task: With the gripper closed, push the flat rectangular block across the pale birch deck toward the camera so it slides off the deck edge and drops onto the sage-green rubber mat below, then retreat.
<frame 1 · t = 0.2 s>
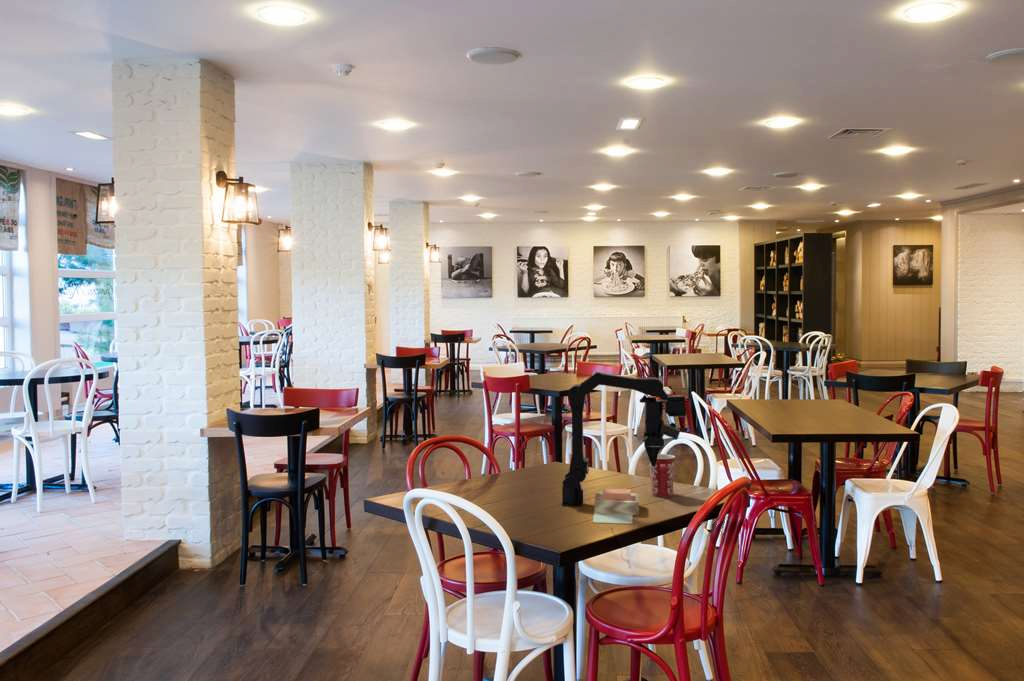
hand: (653, 463, 276), 14 cm above the table, fingers open, 9 cm apart
mug: (662, 496, 290), on the table
deck: (617, 509, 272), on the table
flat rectangular block: (616, 497, 272), point 4 cm above the table, touching deck
mat: (612, 518, 261), on the table
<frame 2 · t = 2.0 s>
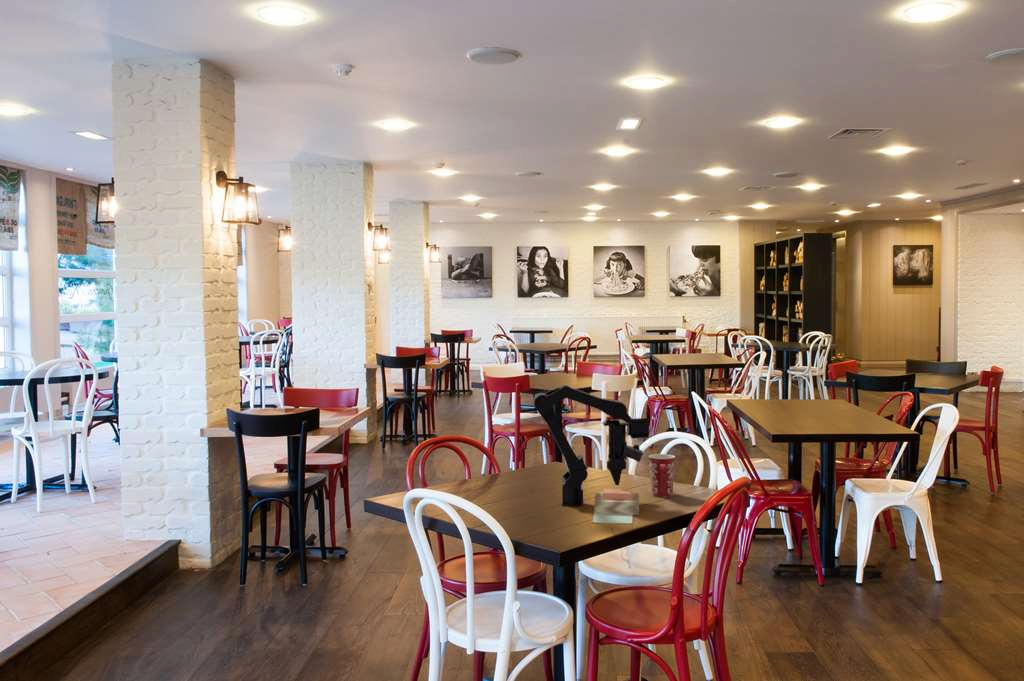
hand: (617, 485, 281), 6 cm above the table, fingers closed
nothing on the table moved.
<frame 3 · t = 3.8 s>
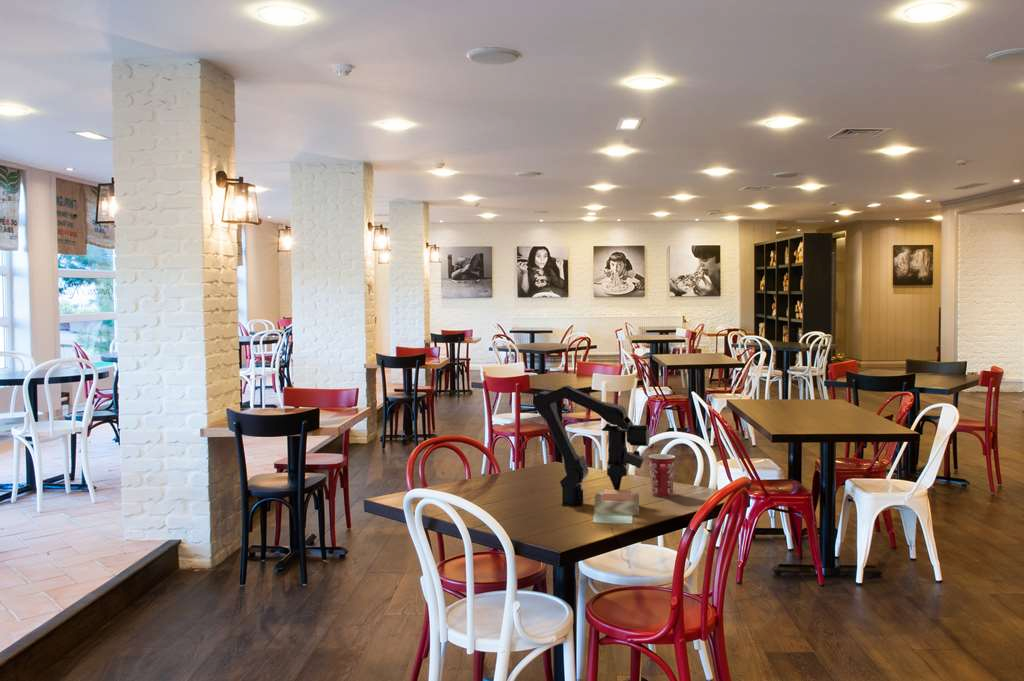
hand: (617, 491, 275), 5 cm above the table, fingers closed
flat rectangular block: (617, 497, 271), point 4 cm above the table, touching deck, gripper
everything else where it was.
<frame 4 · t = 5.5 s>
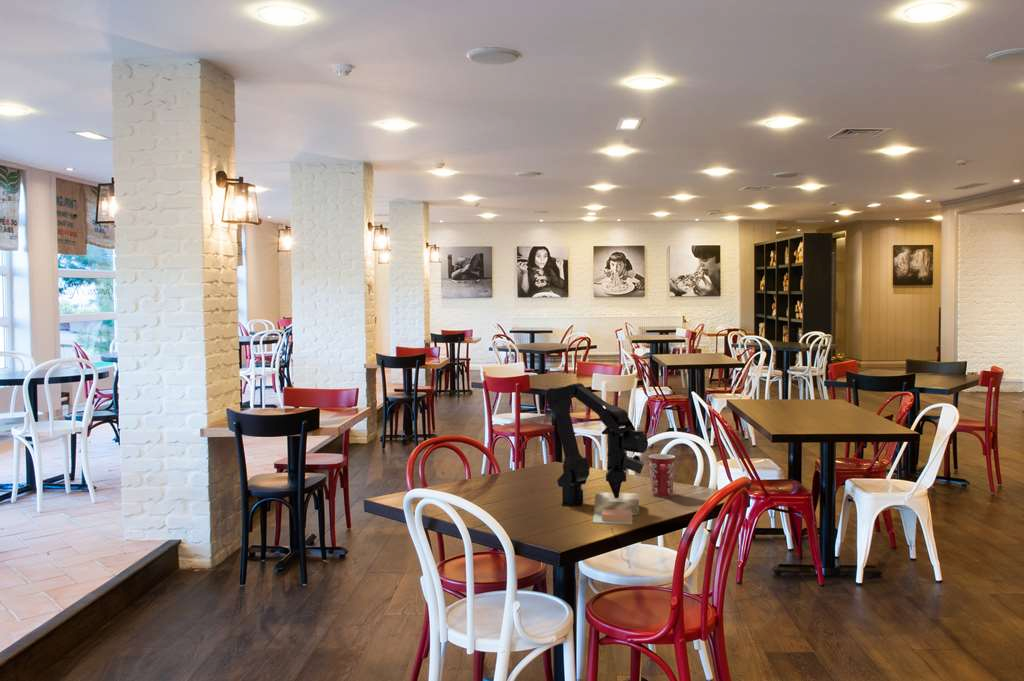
hand: (616, 498, 267), 5 cm above the table, fingers closed
flat rectangular block: (616, 512, 260), point 2 cm above the table, tilted 180°, touching mat
everything else where it was.
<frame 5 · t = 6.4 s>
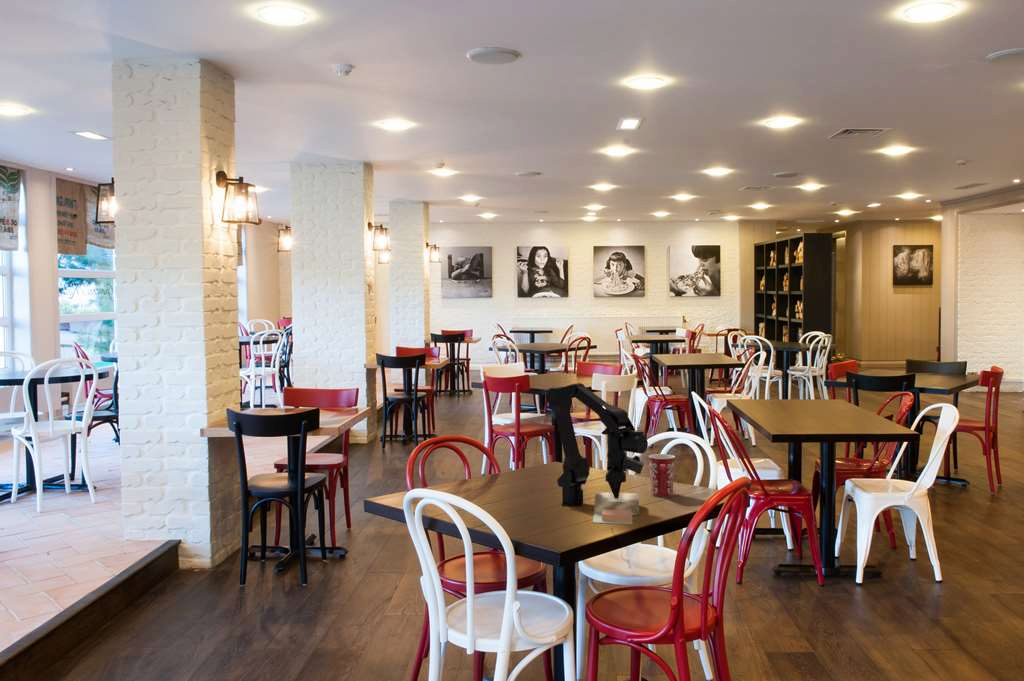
hand: (616, 498, 266), 5 cm above the table, fingers closed
nothing on the table moved.
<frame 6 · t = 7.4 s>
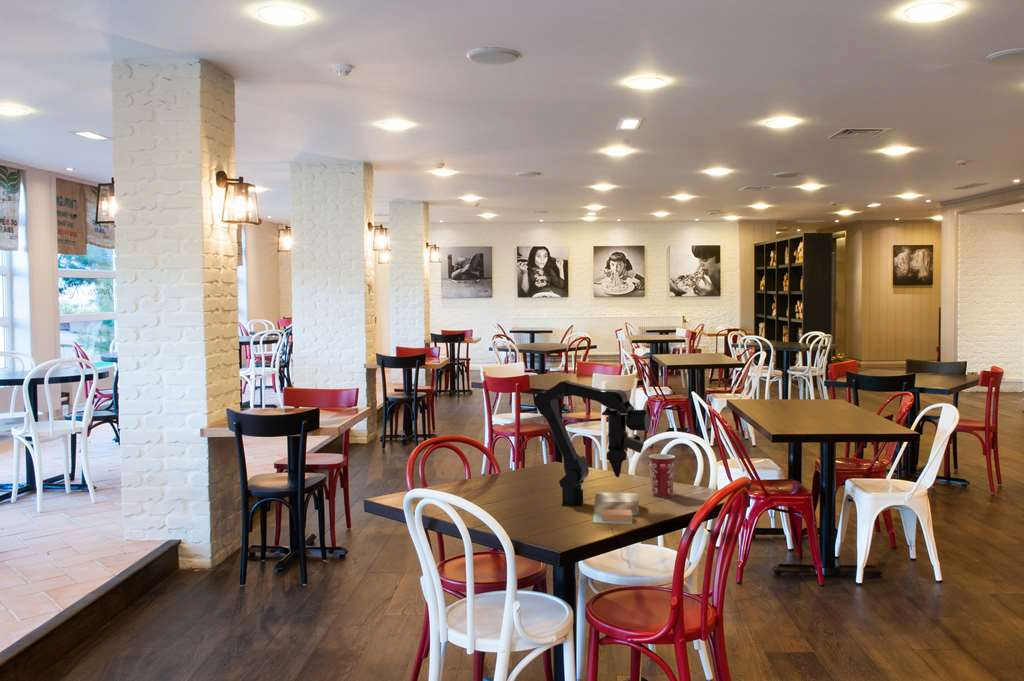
hand: (617, 477, 273), 10 cm above the table, fingers closed
nothing on the table moved.
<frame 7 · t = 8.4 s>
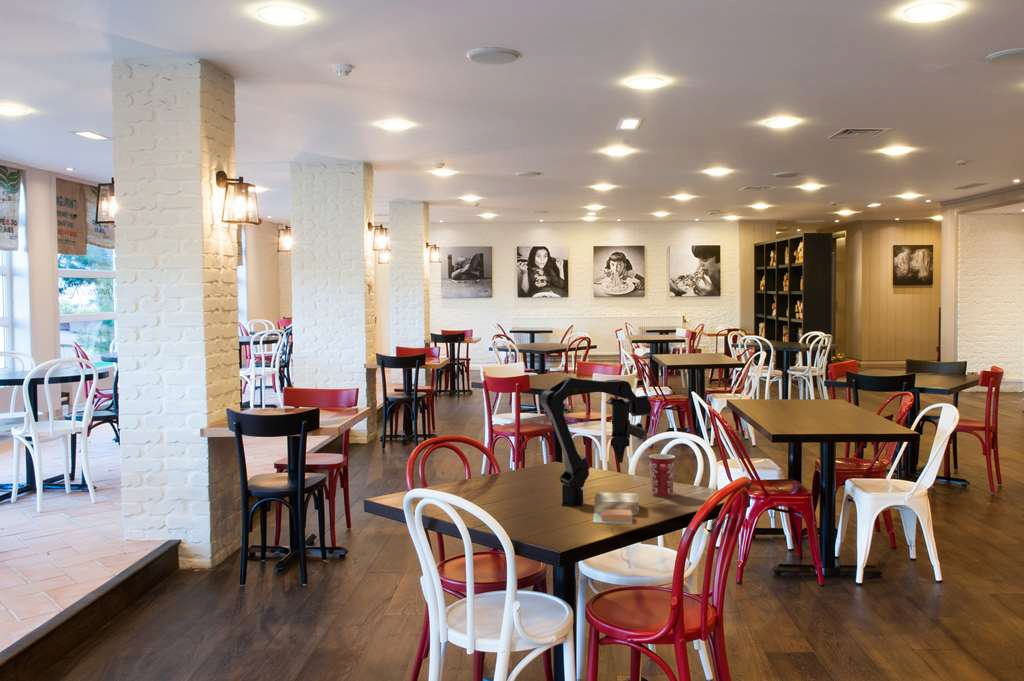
hand: (620, 462, 285), 13 cm above the table, fingers closed
nothing on the table moved.
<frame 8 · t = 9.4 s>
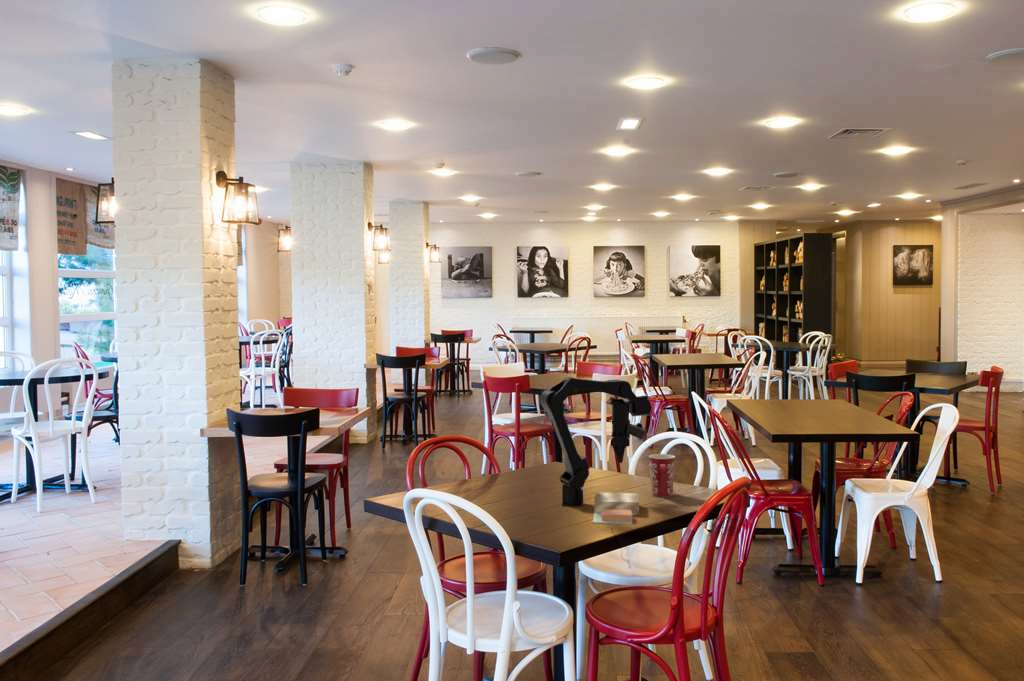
hand: (620, 462, 285), 12 cm above the table, fingers closed
nothing on the table moved.
at the end: flat rectangular block point 2.3 cm above the table; flat rectangular block inside the target area on the mat (1.3 cm from its centre), point 2.3 cm above the mat's base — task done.
